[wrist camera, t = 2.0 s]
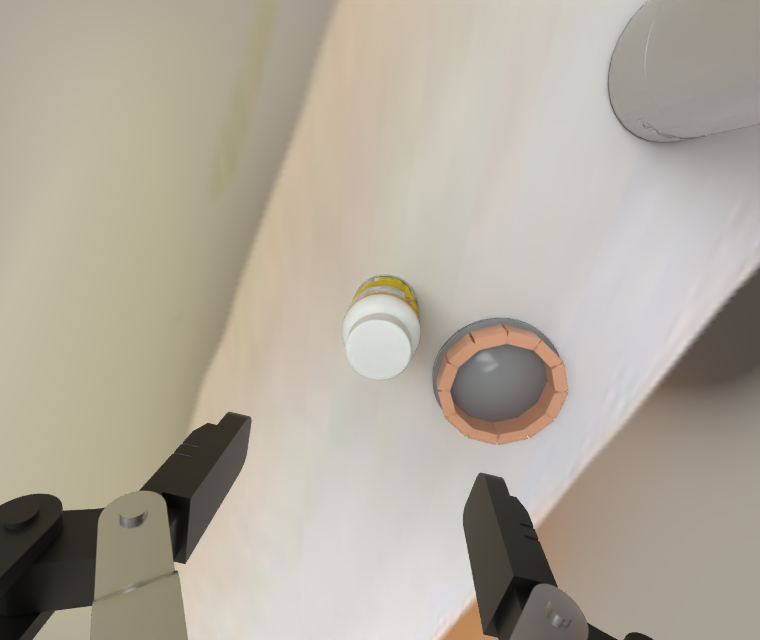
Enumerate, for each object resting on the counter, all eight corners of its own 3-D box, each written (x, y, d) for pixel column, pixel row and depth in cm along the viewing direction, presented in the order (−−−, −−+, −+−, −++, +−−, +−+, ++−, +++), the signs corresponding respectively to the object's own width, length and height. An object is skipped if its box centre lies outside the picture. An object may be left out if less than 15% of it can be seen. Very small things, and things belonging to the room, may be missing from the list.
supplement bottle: (359, 268, 30) (340, 299, 21) (423, 280, 30) (432, 316, 21) (350, 328, 31) (328, 381, 22) (410, 339, 31) (412, 397, 22)
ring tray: (453, 304, 30) (458, 313, 28) (579, 335, 30) (595, 347, 28) (418, 413, 34) (419, 430, 31) (531, 440, 34) (541, 459, 31)
